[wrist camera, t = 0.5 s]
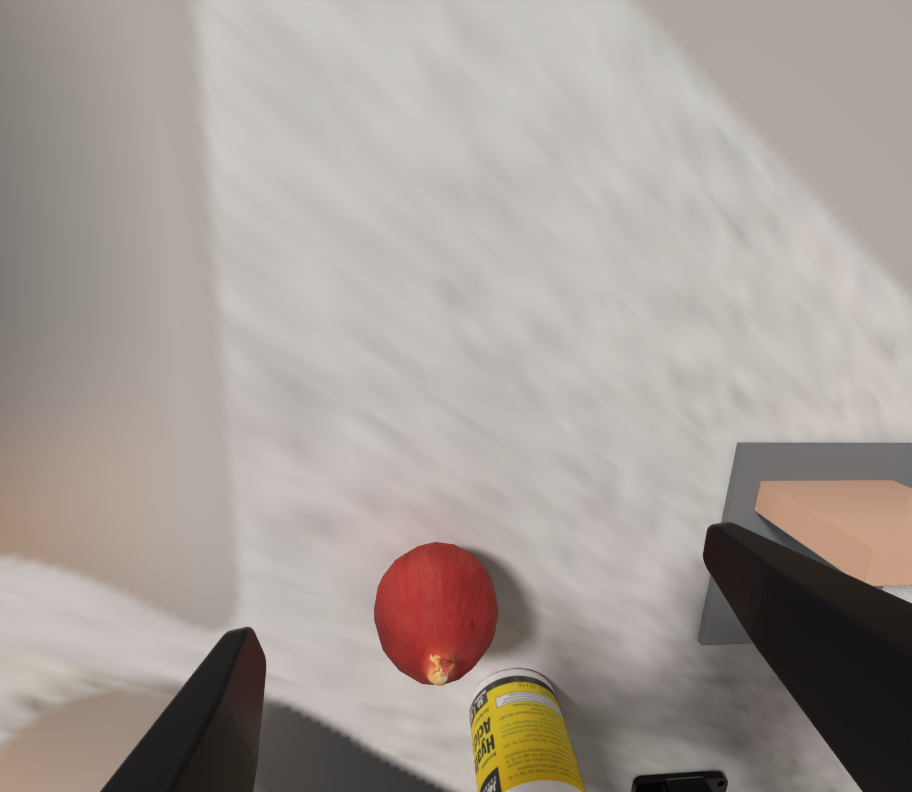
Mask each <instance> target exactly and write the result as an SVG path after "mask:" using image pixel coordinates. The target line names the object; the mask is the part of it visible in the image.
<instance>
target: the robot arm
mask: <svg viewBox="0 0 912 792" xmlns="http://www.w3.org/2000/svg"><path fill="white" fill-rule="evenodd" d="M703 560H704V563H705V565H706V567H707V569H708V571H709V573H710V574H711V576H712V577H713V579H714V581H715V582H716V584H717V586H718V587H719V589H720V591H721V592H722V594H723V596H724V597H725V599H726V601H727V602H728V604H729V605H730V607H731V609H732V610H733V612H734V614H735V615H736V617H737V619H738V620H739V622H740V624H741V625H742V627H743V628H744V630H745V632H746V633H747V635H748V636H749V638H750V639H751V641H752V642H753V643H754V645H755V646H756V648H757V649H758V651H759V652H760V653H761V655H762V656H763V657H764V659H765V660H766V661H767V663H768V664H769V665H770V667H771V668H772V670H773V671H774V672H775V674H776V675H777V676H778V678H779V679H780V680H781V682H782V683H783V684H784V686H785V687H786V689H787V690H788V691H789V693H790V694H791V695H792V697H793V698H794V699H795V701H796V702H797V703H798V705H799V706H800V708H801V709H802V710H803V712H804V713H805V714H806V716H807V717H808V718H809V720H810V721H811V722H812V724H813V725H814V727H815V728H816V729H817V731H818V732H819V733H820V735H821V736H822V737H823V739H824V740H825V741H826V743H827V744H828V745H829V747H830V748H831V750H832V751H833V752H834V754H835V755H836V756H837V758H838V759H839V760H840V762H841V763H842V764H843V766H844V767H845V769H846V770H847V771H848V773H849V774H850V775H851V777H852V778H853V779H854V781H855V782H856V783H857V785H858V786H859V788H860V789H861V790H862V792H912V603H910V602H908V601H905V600H903V599H901V598H899V597H896V596H894V595H892V594H890V593H888V592H885V591H883V590H881V589H879V588H877V587H874V586H872V585H870V584H868V583H866V582H863V581H861V580H859V579H857V578H854V577H852V576H850V575H848V574H846V573H843V572H841V571H839V570H837V569H835V568H832V567H830V566H828V565H826V564H823V563H821V562H819V561H817V560H815V559H812V558H810V557H808V556H806V555H804V554H801V553H799V552H797V551H795V550H793V549H790V548H788V547H786V546H784V545H781V544H779V543H777V542H775V541H773V540H770V539H768V538H766V537H764V536H762V535H759V534H757V533H755V532H753V531H750V530H748V529H746V528H744V527H742V526H739V525H737V524H735V523H732V522H722V523H717V524H712V525H710V526H709V527H708V529H707V533H706V539H705V545H704V550H703ZM265 676H266V658H265V655H264V652H263V650H262V648H261V645H260V643H259V641H258V639H257V636H256V634H255V632H254V630H253V629H252V628H251V627H244V628H239V629H235V630H231V631H228V632H227V633H225V634H224V635H223V636H222V638H221V639H220V640H219V641H218V643H217V644H216V645H215V647H214V648H213V649H212V650H211V652H210V653H209V654H208V655H207V657H206V658H205V659H204V660H203V662H202V663H201V664H200V666H199V667H198V668H197V669H196V671H195V672H194V673H193V674H192V676H191V677H190V678H189V679H188V681H187V682H186V683H185V685H184V686H183V687H182V688H181V690H180V691H179V692H178V693H177V695H176V696H175V697H174V698H173V700H172V701H171V702H170V704H169V705H168V706H167V707H166V709H165V710H164V711H163V712H162V714H161V715H160V717H159V718H158V719H157V720H156V721H155V723H154V724H153V725H152V726H151V728H150V729H149V730H148V731H147V733H146V734H145V735H144V737H143V738H142V739H141V740H140V742H139V743H138V744H137V746H136V747H135V748H134V749H133V750H132V752H131V753H130V754H129V756H128V757H127V758H126V759H125V761H124V762H123V763H122V764H121V766H120V767H119V768H118V770H117V771H116V772H115V773H114V775H113V776H112V777H111V778H110V780H109V781H108V782H107V783H106V785H105V786H104V787H103V788H102V790H101V791H100V792H253V790H254V784H255V778H256V772H257V766H258V758H259V748H260V737H261V723H262V713H263V700H264V688H265ZM727 785H728V780H727V779H726V777H725V776H724V774H723V773H722V772H708V773H693V774H678V775H663V776H648V777H639V778H637V779H635V780H634V782H633V785H632V791H631V792H726V789H727Z"/></svg>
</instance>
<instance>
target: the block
mask: <svg viewBox="0 0 912 792" xmlns="http://www.w3.org/2000/svg"><path fill="white" fill-rule="evenodd" d="M755 511H756V512H757V513H759V514H760V515H762V517H764V518H765V519H767V520H768V521H770V522H771V523H772V524H774V525H775V526H777V527H778V528H780V529H781V530H783V531H784V532H785V533H787V534H788V535H790V536H791V537H793V538H794V539H795V540H797V541H798V542H800V543H801V544H803V545H804V546H806V547H807V548H808V549H810V550H811V551H813V552H814V553H816V554H817V555H818V556H820V557H821V558H823V559H824V560H826V561H827V562H829V563H830V564H831V565H833V566H834V567H836V568H837V569H839V570H840V571H841V572H843V573H846V574H848V575H850V576H852V577H854V578H857V579H859V580H861V581H863V582H866V583H868V584H870V585H872V586H886V585H912V488H909V487H907V486H905V485H902V484H900V483H898V482H895V481H893V480H840V481H761V483H760V487H759V492H758V496H757V501H756V505H755Z"/></svg>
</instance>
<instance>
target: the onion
mask: <svg viewBox="0 0 912 792" xmlns="http://www.w3.org/2000/svg"><path fill="white" fill-rule="evenodd" d="M497 617H498V605H497V600H496V595H495V591H494V587H493V583H492V580H491V578H490V576H489V574H488V572H487V570H486V569H485V568H484V567H483V565H482V564H481V563H480V562H479V560H478V559H477V558H476V557H475V556H474V555H472V554H470V553H468V552H467V551H465V550H463V549H461V548H459V547H457V546H456V545H454V544H447V543H439V542H434V543H430V544H425V545H421V546H418V547H416V548H414V549H413V550H411V551H409V552H408V553H406V554H404V555H403V556H401V557H399V558H398V559H396V560H395V561H394V563H393V564H392V565H391V566H390V568H389V569H388V570H387V572H386V573H385V574H384V575H383V577H382V579H381V581H380V584H379V586H378V589H377V595H376V601H375V607H374V621H375V624H376V628H377V631H378V635H379V639H380V642H381V645H382V648H383V651H384V652H385V654H386V655H387V656H388V658H389V659H390V660H391V661H392V662H393V664H394V665H395V666H396V667H397V668H398V670H399V671H401V672H402V673H404V674H406V675H408V676H409V677H411V678H413V679H414V680H416V681H418V682H420V683H422V684H429V685H438V686H443V685H445V684H446V683H450V682H453V681H456V680H459V679H460V678H462V677H463V676H464V675H465V674H466V673H467V672H469V671H470V670H471V669H472V668H473V667H474V666H475V665H476V664H477V662H478V661H479V660H480V658H481V657H482V656H483V654H484V653H485V652H486V650H487V649H488V647H489V646H490V645H491V642H492V640H493V638H494V633H495V628H496V623H497Z"/></svg>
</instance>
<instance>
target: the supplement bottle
mask: <svg viewBox="0 0 912 792" xmlns="http://www.w3.org/2000/svg"><path fill="white" fill-rule="evenodd" d="M469 712H470V724H471V733H472V744H473V753H474V762H475V773H476V782H477V791H478V792H586V790H585V787H584V784H583V781H582V777H581V774H580V771H579V768H578V765H577V761H576V758H575V755H574V752H573V749H572V745H571V742H570V739H569V736H568V733H567V730H566V726H565V723H564V720H563V717H562V714H561V710H560V708H559V705H558V701H557V698H556V696H555V693H554V691H553V689H552V687H551V685H550V684H549V682H548V681H547V680H546V679H545V678H544V677H542V676H541V675H539V674H538V673H535V672H533V671H530V670H526V669H509V670H504V671H500V672H497V673H495V674H493V675H491V676H489V677H487V678H486V679H485V680H483V681H482V682H481V683H480V684H479V685H478V687H477V688H476V689H475V691H474V693H473V695H472V698H471V701H470V708H469Z"/></svg>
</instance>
